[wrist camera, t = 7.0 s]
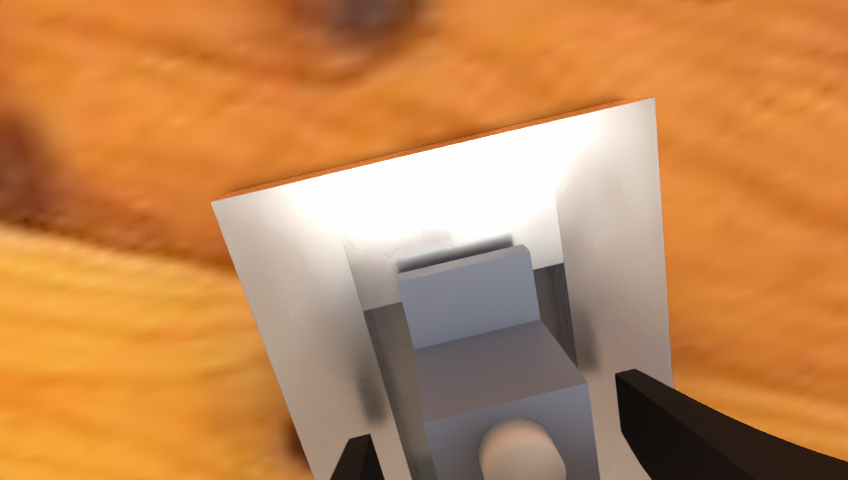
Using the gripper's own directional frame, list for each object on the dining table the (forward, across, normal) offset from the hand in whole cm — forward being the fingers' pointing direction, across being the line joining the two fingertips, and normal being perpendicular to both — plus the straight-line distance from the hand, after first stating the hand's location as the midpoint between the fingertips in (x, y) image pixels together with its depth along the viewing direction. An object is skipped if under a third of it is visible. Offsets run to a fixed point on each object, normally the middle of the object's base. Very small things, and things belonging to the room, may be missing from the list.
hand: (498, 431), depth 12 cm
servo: (+3, 0, 0) cm, 3 cm away
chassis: (+3, 0, 0) cm, 3 cm away
